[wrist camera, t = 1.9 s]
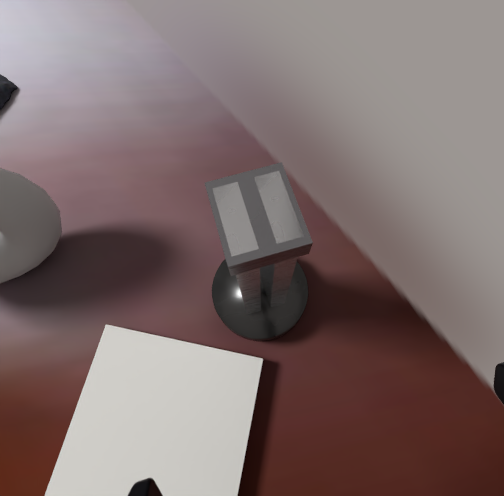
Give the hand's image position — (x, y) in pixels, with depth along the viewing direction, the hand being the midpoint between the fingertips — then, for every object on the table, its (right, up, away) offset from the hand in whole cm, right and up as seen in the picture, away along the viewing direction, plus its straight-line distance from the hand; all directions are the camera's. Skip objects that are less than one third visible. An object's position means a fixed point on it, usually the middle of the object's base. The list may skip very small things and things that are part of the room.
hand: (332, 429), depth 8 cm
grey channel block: (-1, +1, +14) cm, 14 cm away
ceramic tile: (-7, -6, +11) cm, 15 cm away
